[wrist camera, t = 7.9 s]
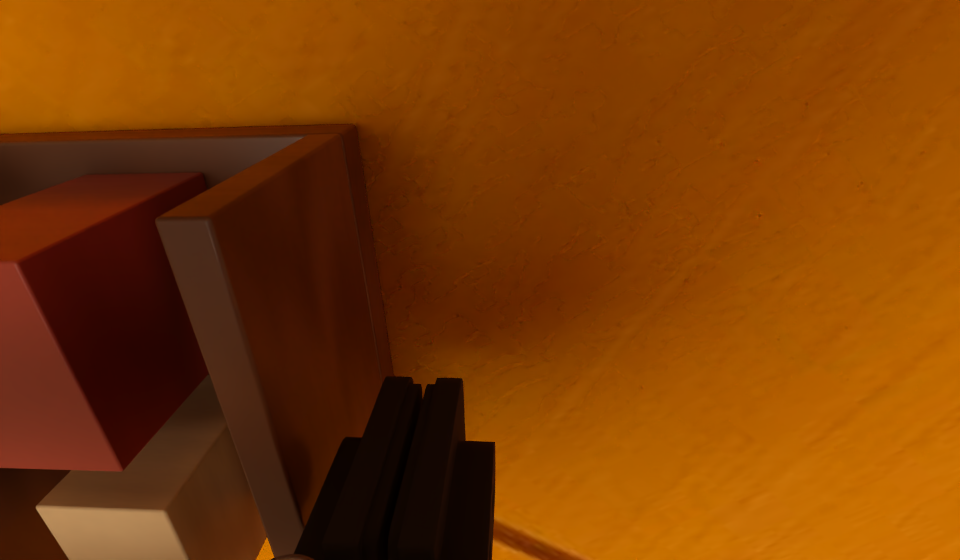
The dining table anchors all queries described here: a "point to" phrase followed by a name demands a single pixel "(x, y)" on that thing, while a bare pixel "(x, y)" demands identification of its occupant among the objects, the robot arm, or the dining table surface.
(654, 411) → the dining table surface
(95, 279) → the open wooden box
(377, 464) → the robot arm
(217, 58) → the dining table surface
